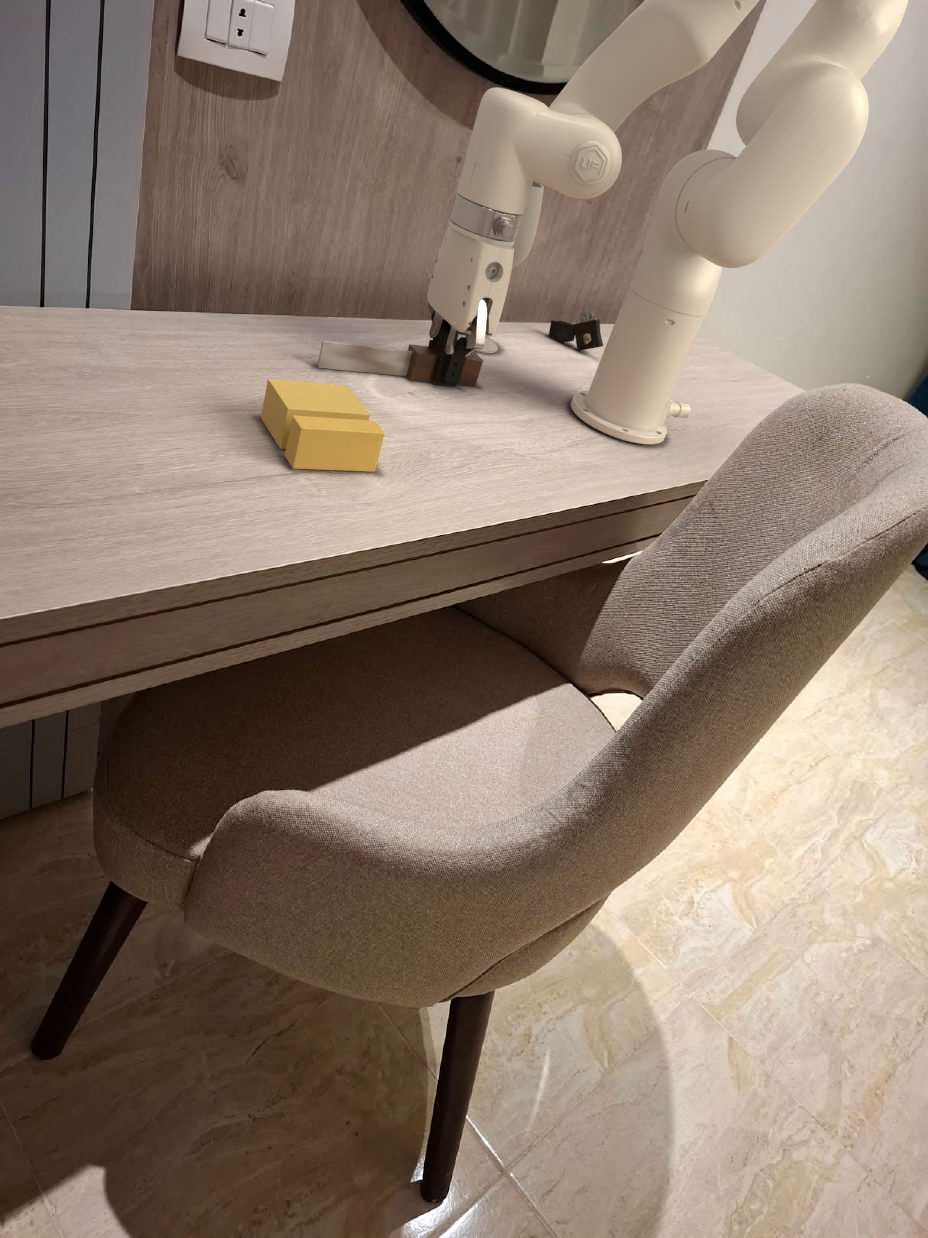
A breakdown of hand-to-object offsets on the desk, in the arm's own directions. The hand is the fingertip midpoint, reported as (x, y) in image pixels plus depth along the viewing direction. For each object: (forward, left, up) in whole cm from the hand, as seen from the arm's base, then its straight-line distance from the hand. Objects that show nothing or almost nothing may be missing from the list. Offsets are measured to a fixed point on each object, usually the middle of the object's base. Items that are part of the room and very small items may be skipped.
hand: (439, 377), depth 108 cm
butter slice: (+22, +22, 0) cm, 31 cm away
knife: (+5, 0, 0) cm, 5 cm away
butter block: (+22, +17, 0) cm, 28 cm away
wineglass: (-12, -14, 0) cm, 18 cm away
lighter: (-31, -17, 0) cm, 35 cm away
